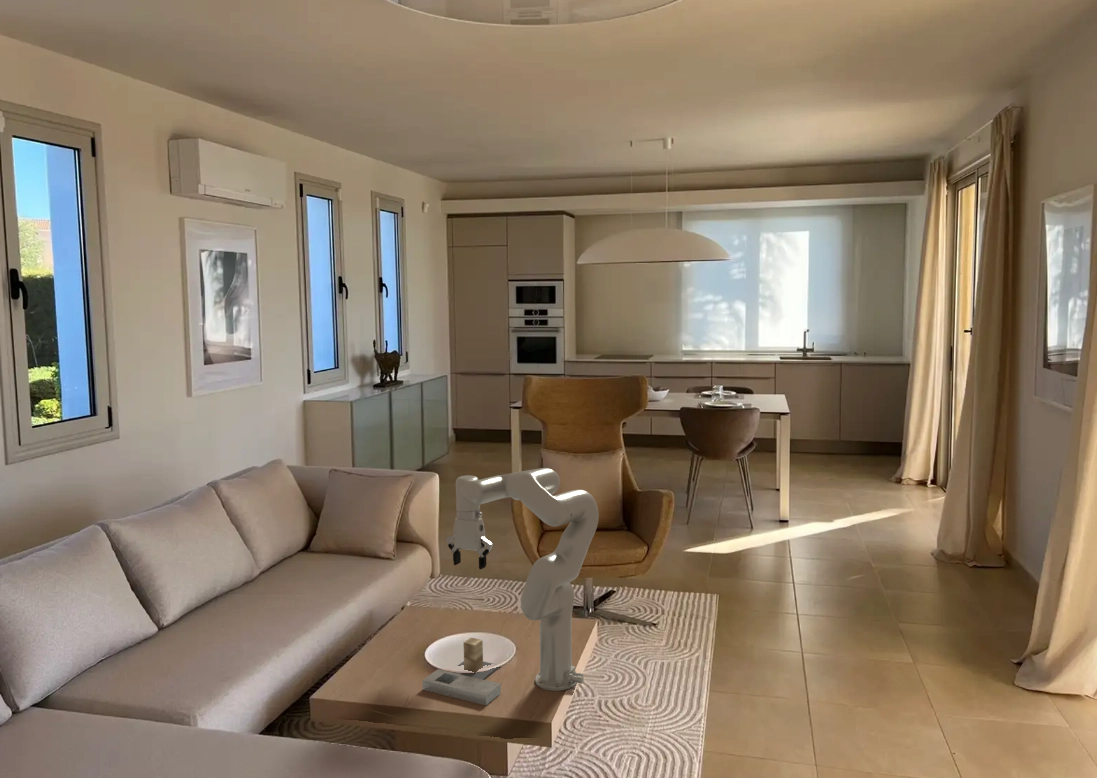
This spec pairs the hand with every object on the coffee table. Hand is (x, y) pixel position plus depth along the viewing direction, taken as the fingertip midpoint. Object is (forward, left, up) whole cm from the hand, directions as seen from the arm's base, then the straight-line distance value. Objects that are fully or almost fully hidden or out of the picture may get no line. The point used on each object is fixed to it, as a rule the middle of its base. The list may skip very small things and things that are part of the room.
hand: (469, 566), depth 272 cm
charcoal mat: (-9, +13, -28) cm, 32 cm away
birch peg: (-9, +13, -28) cm, 32 cm away
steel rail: (-13, +26, -28) cm, 41 cm away
